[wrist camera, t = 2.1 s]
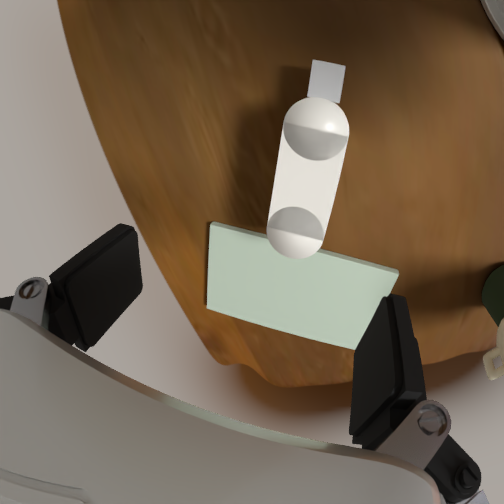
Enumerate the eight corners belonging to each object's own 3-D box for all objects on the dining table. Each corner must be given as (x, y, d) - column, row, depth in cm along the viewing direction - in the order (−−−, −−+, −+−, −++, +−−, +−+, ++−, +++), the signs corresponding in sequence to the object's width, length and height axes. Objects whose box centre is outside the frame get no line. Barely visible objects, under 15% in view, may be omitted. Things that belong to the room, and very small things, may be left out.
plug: (356, 74, 19) (361, 65, 14) (322, 232, 27) (316, 265, 22) (304, 63, 20) (294, 51, 15) (278, 221, 28) (262, 250, 23)
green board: (397, 269, 27) (399, 274, 26) (358, 345, 33) (358, 350, 32) (213, 221, 30) (210, 224, 30) (209, 304, 37) (206, 308, 36)
